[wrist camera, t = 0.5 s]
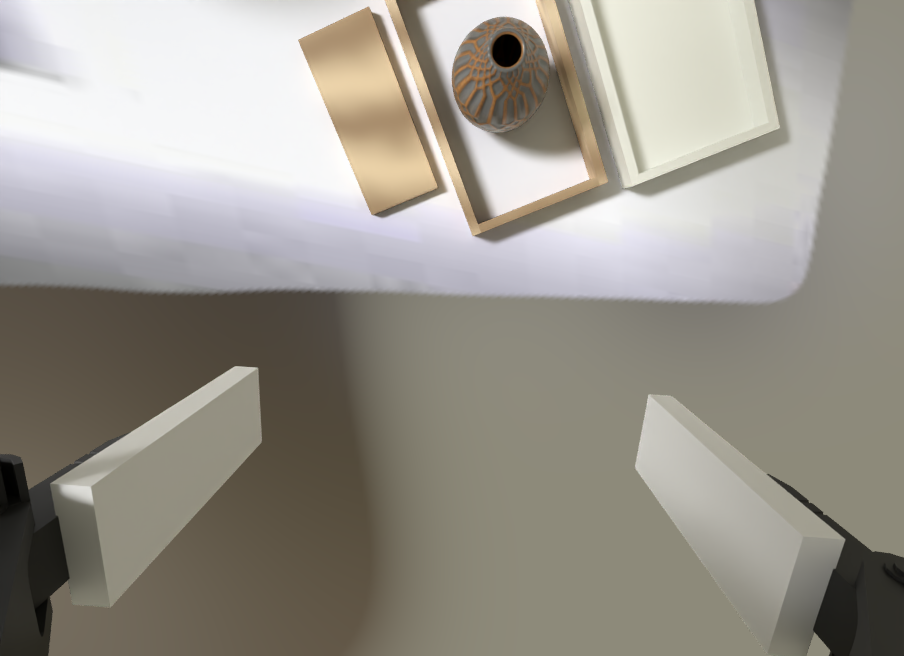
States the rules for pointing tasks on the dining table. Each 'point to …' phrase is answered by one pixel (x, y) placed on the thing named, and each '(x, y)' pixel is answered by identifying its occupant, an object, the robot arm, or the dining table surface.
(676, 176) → the dining table surface
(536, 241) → the dining table surface
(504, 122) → the vase
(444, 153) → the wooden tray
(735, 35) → the off-white tray
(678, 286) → the dining table surface
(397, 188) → the lid
